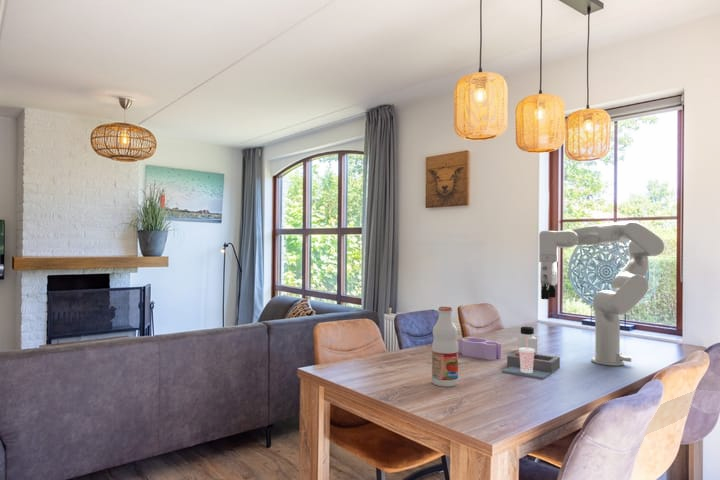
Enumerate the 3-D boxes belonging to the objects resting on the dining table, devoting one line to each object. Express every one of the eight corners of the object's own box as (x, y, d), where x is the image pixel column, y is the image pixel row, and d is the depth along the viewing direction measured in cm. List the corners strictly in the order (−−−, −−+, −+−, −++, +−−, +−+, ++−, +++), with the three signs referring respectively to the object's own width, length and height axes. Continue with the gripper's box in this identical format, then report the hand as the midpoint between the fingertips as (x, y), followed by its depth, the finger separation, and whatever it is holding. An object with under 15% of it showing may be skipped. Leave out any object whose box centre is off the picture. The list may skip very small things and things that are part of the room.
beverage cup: (515, 370, 189) (515, 335, 189) (527, 368, 191) (527, 334, 191) (525, 374, 183) (525, 338, 183) (538, 372, 185) (538, 337, 186)
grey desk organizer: (559, 367, 197) (559, 357, 197) (551, 373, 187) (551, 362, 187) (517, 361, 208) (517, 351, 208) (507, 366, 198) (507, 355, 198)
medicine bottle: (537, 353, 224) (537, 328, 224) (522, 353, 224) (522, 327, 224) (532, 350, 231) (532, 325, 231) (517, 349, 231) (517, 325, 231)
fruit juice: (437, 378, 179) (437, 305, 180) (461, 382, 175) (461, 306, 175) (428, 384, 171) (428, 307, 171) (453, 388, 166) (453, 309, 167)
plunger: (526, 363, 201) (526, 351, 201) (523, 365, 198) (523, 353, 198) (517, 361, 203) (517, 350, 204) (514, 363, 200) (514, 351, 200)
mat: (550, 374, 186) (550, 372, 186) (543, 379, 179) (543, 377, 179) (510, 368, 196) (510, 366, 196) (502, 372, 189) (502, 370, 189)
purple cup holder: (506, 358, 214) (506, 342, 215) (489, 361, 207) (489, 346, 207) (471, 350, 230) (471, 336, 230) (454, 353, 222) (454, 339, 223)
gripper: (551, 259, 196) (551, 300, 196) (562, 258, 210) (562, 297, 209) (533, 259, 200) (533, 299, 200) (545, 258, 214) (545, 296, 214)
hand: (548, 298), depth 205 cm, fingers open, 9 cm apart
